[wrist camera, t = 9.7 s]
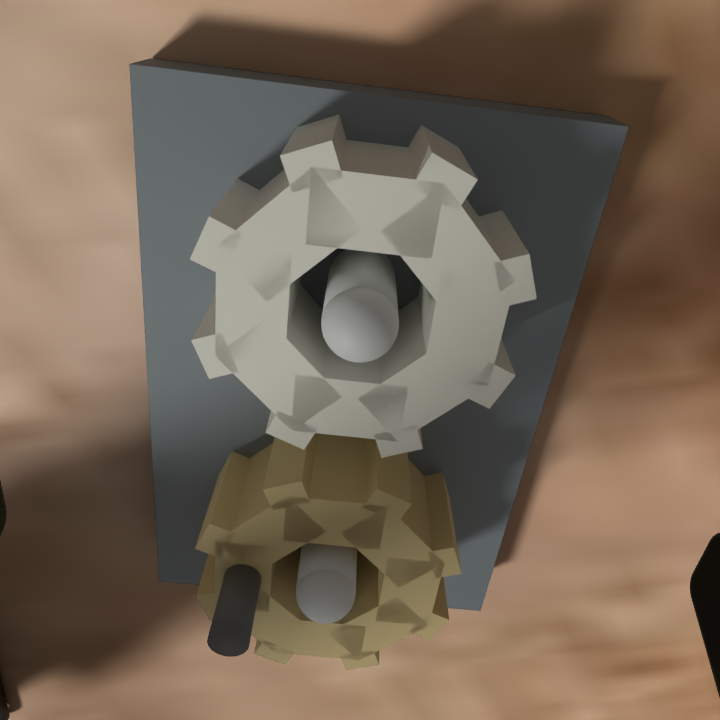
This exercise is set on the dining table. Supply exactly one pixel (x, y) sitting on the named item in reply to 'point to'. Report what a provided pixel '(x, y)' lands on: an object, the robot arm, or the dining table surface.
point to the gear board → (248, 148)
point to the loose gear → (371, 234)
